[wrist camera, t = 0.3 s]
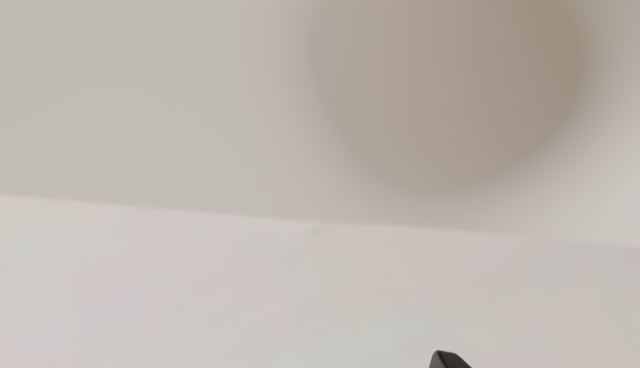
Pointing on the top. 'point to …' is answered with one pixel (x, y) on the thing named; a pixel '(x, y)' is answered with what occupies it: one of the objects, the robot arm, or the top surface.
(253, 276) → the top surface
